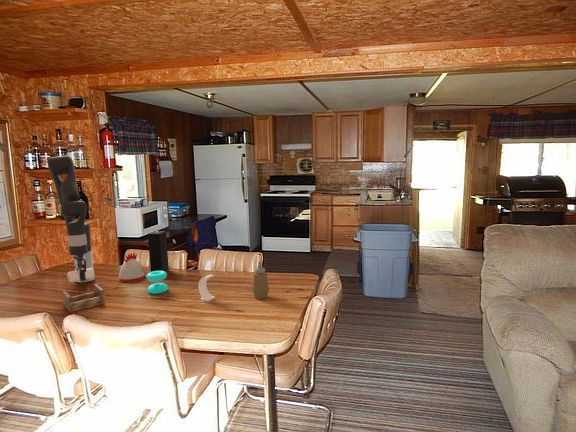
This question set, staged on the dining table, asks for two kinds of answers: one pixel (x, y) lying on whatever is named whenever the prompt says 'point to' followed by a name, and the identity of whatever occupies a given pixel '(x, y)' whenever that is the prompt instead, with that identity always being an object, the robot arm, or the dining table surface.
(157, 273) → the teal stacked discs
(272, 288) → the dining table surface
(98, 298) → the roll cradle
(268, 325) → the dining table surface
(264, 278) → the squeeze bottle
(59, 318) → the dining table surface
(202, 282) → the white curved piece
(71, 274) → the paper roll
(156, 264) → the black rectangular block
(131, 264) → the beanie hat
